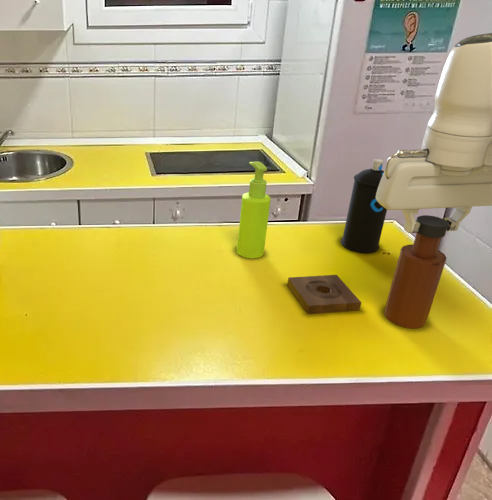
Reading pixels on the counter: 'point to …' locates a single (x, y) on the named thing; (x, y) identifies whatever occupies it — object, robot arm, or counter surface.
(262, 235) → the soap dispenser
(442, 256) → the bottle
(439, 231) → the cylinder
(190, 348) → the counter surface
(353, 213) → the aerosol can
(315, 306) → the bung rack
